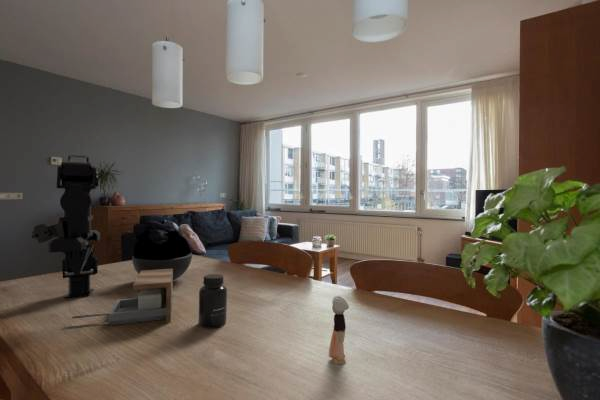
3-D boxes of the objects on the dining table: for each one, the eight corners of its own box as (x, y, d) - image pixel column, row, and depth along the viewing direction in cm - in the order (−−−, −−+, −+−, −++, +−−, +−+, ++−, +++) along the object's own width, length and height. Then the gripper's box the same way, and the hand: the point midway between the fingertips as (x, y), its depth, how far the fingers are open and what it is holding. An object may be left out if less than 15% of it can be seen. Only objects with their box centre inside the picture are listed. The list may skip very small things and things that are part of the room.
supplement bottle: (219, 330, 76) (219, 280, 76) (193, 327, 77) (193, 278, 77) (231, 319, 83) (231, 273, 82) (206, 317, 84) (207, 271, 84)
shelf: (140, 305, 91) (140, 270, 91) (172, 302, 94) (172, 268, 94) (132, 326, 77) (133, 285, 77) (170, 322, 80) (170, 282, 80)
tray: (117, 309, 88) (117, 299, 88) (168, 304, 92) (168, 295, 92) (108, 325, 77) (108, 314, 77) (166, 318, 82) (166, 308, 82)
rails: (73, 317, 83) (73, 316, 83) (168, 307, 91) (168, 306, 91) (62, 329, 75) (62, 328, 75) (167, 317, 83) (167, 316, 83)
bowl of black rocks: (203, 281, 118) (203, 230, 117) (151, 294, 102) (151, 236, 101) (172, 272, 130) (172, 226, 129) (121, 283, 113) (121, 231, 113)
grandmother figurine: (325, 350, 67) (326, 290, 66) (343, 350, 67) (344, 290, 67) (332, 371, 59) (333, 303, 59) (352, 370, 59) (353, 303, 59)
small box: (140, 307, 87) (140, 289, 87) (163, 305, 89) (163, 287, 89) (137, 314, 82) (137, 295, 82) (161, 312, 84) (161, 293, 84)
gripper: (52, 210, 85) (53, 268, 86) (18, 215, 68) (19, 287, 68) (100, 210, 89) (100, 265, 89) (80, 214, 72) (80, 283, 72)
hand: (77, 274), depth 80 cm, fingers closed
